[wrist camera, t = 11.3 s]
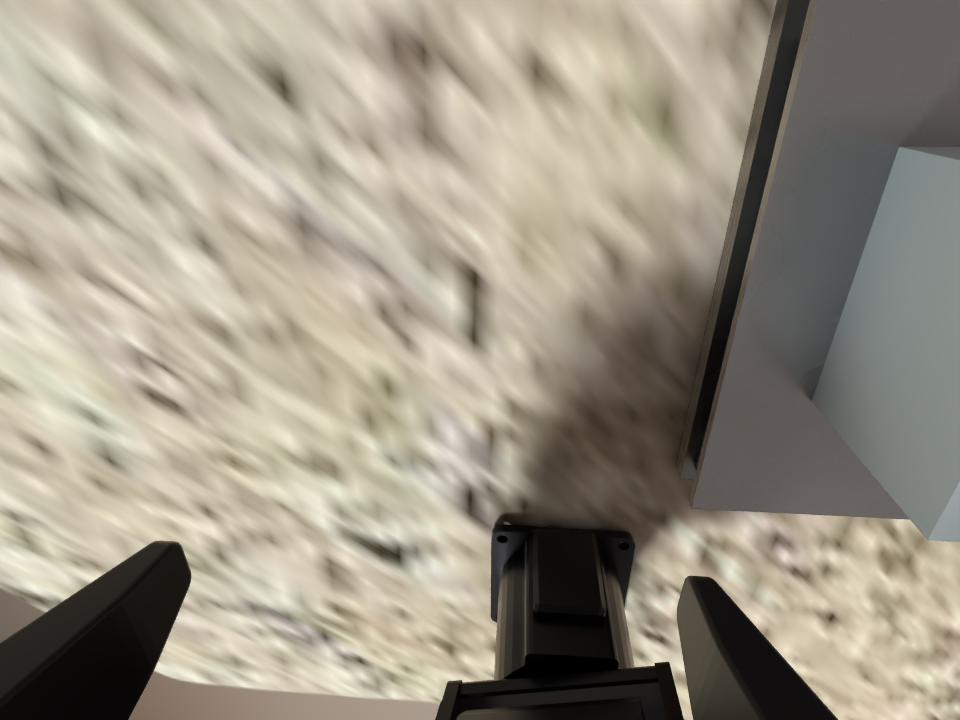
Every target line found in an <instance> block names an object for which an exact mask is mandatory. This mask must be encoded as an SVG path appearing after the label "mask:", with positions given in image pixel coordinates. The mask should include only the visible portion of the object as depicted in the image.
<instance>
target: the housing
mask: <svg viewBox="0 0 960 720" xmlns="http://www.w3.org/2000/svg"><path fill="white" fill-rule="evenodd" d="M812 403H813V404H814V405H815V407H816V408H817V409H818V410H819V411H820V413H821V414H822V415H823V416H824V417H825V419H826V420H827V421H828V422H829V423H830V425H831V426H832V427H833V428H834V429H835V430H836V432H837V433H838V434H839V435H840V436H841V438H842V439H843V440H844V441H845V442H846V444H847V445H848V446H849V447H850V448H851V450H852V451H853V452H854V453H855V454H856V456H857V457H858V458H859V459H860V460H861V461H862V463H863V464H864V465H865V466H866V467H867V469H868V470H869V471H870V472H871V473H872V475H873V476H874V477H875V478H876V479H877V481H878V482H879V483H880V484H881V485H882V487H883V488H884V489H885V490H886V491H887V492H888V494H889V495H890V496H891V497H892V498H893V500H894V501H895V502H896V503H897V504H898V506H899V507H900V508H901V509H902V510H903V512H904V513H905V514H906V515H907V516H908V518H909V519H910V520H911V521H912V522H913V523H914V525H915V526H916V527H917V528H918V529H919V531H920V532H921V533H922V534H923V535H924V537H925V538H926V539H927V540H933V541H953V542H960V147H899V149H898V151H897V154H896V157H895V160H894V163H893V166H892V169H891V172H890V175H889V178H888V181H887V184H886V186H885V189H884V192H883V195H882V198H881V201H880V204H879V207H878V210H877V213H876V216H875V218H874V221H873V224H872V227H871V230H870V233H869V236H868V239H867V242H866V245H865V248H864V250H863V253H862V256H861V259H860V262H859V265H858V268H857V271H856V274H855V277H854V280H853V283H852V285H851V288H850V291H849V294H848V297H847V300H846V303H845V306H844V309H843V312H842V315H841V317H840V320H839V323H838V326H837V329H836V332H835V335H834V338H833V341H832V344H831V347H830V349H829V352H828V355H827V358H826V361H825V364H824V367H823V370H822V373H821V376H820V379H819V382H818V384H817V387H816V390H815V393H814V396H813V399H812Z"/></svg>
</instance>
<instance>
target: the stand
mask: <svg viewBox="0 0 960 720" xmlns="http://www.w3.org/2000/svg"><path fill="white" fill-rule="evenodd" d="M899 147H960V0H777V3H776V8H775V12H774V17H773V22H772V26H771V31H770V35H769V40H768V45H767V49H766V54H765V58H764V63H763V68H762V72H761V77H760V81H759V86H758V91H757V95H756V100H755V104H754V109H753V114H752V118H751V123H750V127H749V132H748V137H747V141H746V146H745V150H744V155H743V160H742V164H741V169H740V173H739V178H738V183H737V187H736V192H735V197H734V201H733V206H732V210H731V215H730V220H729V224H728V229H727V233H726V238H725V243H724V247H723V252H722V256H721V261H720V266H719V270H718V275H717V279H716V284H715V289H714V293H713V298H712V302H711V307H710V312H709V316H708V321H707V325H706V330H705V335H704V339H703V344H702V348H701V353H700V358H699V362H698V367H697V372H696V376H695V381H694V385H693V390H692V395H691V399H690V404H689V408H688V413H687V418H686V422H685V427H684V431H683V436H682V441H681V445H680V450H679V454H678V459H677V464H676V467H677V470H678V473H679V475H680V478H681V479H694V482H693V487H692V491H691V495H690V499H689V502H690V505H691V508H693V509H713V510H732V511H752V512H772V513H792V514H812V515H831V516H851V517H871V518H891V519H909V518H908V516H907V515H906V514H905V513H904V512H903V510H902V509H901V508H900V507H899V506H898V504H897V503H896V502H895V501H894V500H893V498H892V497H891V496H890V495H889V494H888V492H887V491H886V490H885V489H884V488H883V487H882V485H881V484H880V483H879V482H878V481H877V479H876V478H875V477H874V476H873V475H872V473H871V472H870V471H869V470H868V469H867V467H866V466H865V465H864V464H863V463H862V461H861V460H860V459H859V458H858V457H857V456H856V454H855V453H854V452H853V451H852V450H851V448H850V447H849V446H848V445H847V444H846V442H845V441H844V440H843V439H842V438H841V436H840V435H839V434H838V433H837V432H836V430H835V429H834V428H833V427H832V426H831V425H830V423H829V422H828V421H827V420H826V419H825V417H824V416H823V415H822V414H821V413H820V411H819V410H818V409H817V408H816V407H815V405H814V404H813V403H812V399H813V396H814V393H815V390H816V387H817V384H818V382H819V379H820V376H821V373H822V370H823V367H824V364H825V361H826V358H827V355H828V352H829V349H830V347H831V344H832V341H833V338H834V335H835V332H836V329H837V326H838V323H839V320H840V317H841V315H842V312H843V309H844V306H845V303H846V300H847V297H848V294H849V291H850V288H851V285H852V283H853V280H854V277H855V274H856V271H857V268H858V265H859V262H860V259H861V256H862V253H863V250H864V248H865V245H866V242H867V239H868V236H869V233H870V230H871V227H872V224H873V221H874V218H875V216H876V213H877V210H878V207H879V204H880V201H881V198H882V195H883V192H884V189H885V186H886V184H887V181H888V178H889V175H890V172H891V169H892V166H893V163H894V160H895V157H896V154H897V151H898V149H899Z"/></svg>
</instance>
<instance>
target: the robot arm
mask: <svg viewBox="0 0 960 720" xmlns="http://www.w3.org/2000/svg"><path fill="white" fill-rule="evenodd" d="M501 535H503V536H505V537H501ZM621 542H626V543H621ZM634 549H635V543H634V538H633V536H632V535H631V534H630V533H628V532H624V531H605V530H587V529H568V528H550V527H531V526H512V525H498V526H496V527H495V528H494V529H493V531H492V542H491V618H492V620H493V621H495V622H497V635H496V654H495V672H494V680H487V681H475V682H464V683H463V682H462V680H458V681H448V683H447V686H446V689H445V693H444V696H443V699H442V702H441V703H440V706H439V709H438V713H437V716H436V719H435V720H684V719H683V715H682V711H681V707H680V703H679V699H678V695H677V691H676V687H675V683H674V679H673V676H672V672H671V668H670V664H669V662H661V663H655V666H647V667H634V661H633V655H632V650H631V644H630V639H629V633H628V627H627V622H626V616H625V610H624V603H625V597H626V592H627V587H628V581H629V576H630V571H631V565H632V560H633V555H634ZM190 582H191V570H190V568H189V565H188V562H187V559H186V557H185V554H184V551H183V548H182V546H181V545H180V544H179V543H178V542H173V541H155V542H153V543H151V544H149V545H148V546H146V547H145V548H143V549H141V550H140V551H138V552H137V553H135V554H134V555H132V556H131V557H129V558H128V559H126V560H125V561H123V562H122V563H120V564H119V565H117V566H116V567H114V568H113V569H111V570H110V571H108V572H107V573H105V574H104V575H102V576H101V577H99V578H98V579H96V580H95V581H93V582H92V583H90V584H88V585H87V586H85V587H84V588H82V589H81V590H79V591H78V592H76V593H75V594H73V595H72V596H70V597H69V598H67V599H66V600H64V601H63V602H61V603H60V604H58V605H57V606H55V607H54V608H52V609H51V610H49V611H48V612H46V613H45V614H43V615H42V616H40V617H39V618H37V619H36V620H34V621H33V622H31V623H30V624H28V625H27V626H25V627H23V628H22V629H20V630H19V631H17V632H16V633H14V634H13V635H11V636H10V637H9V638H7V639H6V640H4V641H2V642H1V643H0V720H128V719H129V717H130V715H131V713H132V711H133V709H134V707H135V706H136V704H137V702H138V700H139V698H140V696H141V694H142V692H143V691H144V689H145V687H146V685H147V683H148V681H149V679H150V677H151V675H152V673H153V671H154V669H155V667H156V665H157V662H158V660H159V658H160V656H161V653H162V651H163V648H164V646H165V644H166V641H167V639H168V636H169V634H170V632H171V629H172V627H173V624H174V622H175V620H176V617H177V615H178V612H179V610H180V608H181V605H182V603H183V600H184V598H185V596H186V593H187V591H188V588H189V586H190ZM677 622H678V628H679V635H680V641H681V647H682V654H683V660H684V666H685V673H686V679H687V685H688V692H689V698H690V704H691V710H692V715H693V719H694V720H838V719H837V718H836V717H835V715H834V714H833V713H832V712H831V711H830V710H829V709H828V708H827V706H826V705H825V704H824V703H823V702H822V701H821V700H820V699H819V697H818V696H817V695H816V694H815V693H814V692H813V691H812V690H811V688H810V687H809V686H808V685H807V684H806V683H805V682H804V680H803V679H802V678H801V677H800V676H799V675H798V674H797V673H796V671H795V670H794V669H793V668H792V667H791V666H790V665H789V664H788V662H787V661H786V660H785V659H784V658H783V657H782V656H781V655H780V653H779V652H778V651H777V650H776V649H775V648H774V647H773V646H772V644H771V643H770V642H769V641H768V640H767V639H766V638H765V637H764V635H763V634H762V633H761V632H760V631H759V630H758V629H757V628H756V626H755V625H754V624H753V623H752V622H751V621H750V620H749V618H748V617H747V616H746V615H745V614H744V613H743V612H742V611H741V609H740V608H739V607H738V606H737V605H736V604H735V603H734V602H733V600H732V599H731V598H730V597H729V596H728V595H727V594H726V593H725V591H724V590H723V589H722V588H721V587H720V586H719V585H718V584H717V582H716V581H715V580H713V579H712V578H710V577H702V576H688V577H687V578H686V579H685V581H684V585H683V588H682V592H681V595H680V599H679V603H678V607H677Z"/></svg>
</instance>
